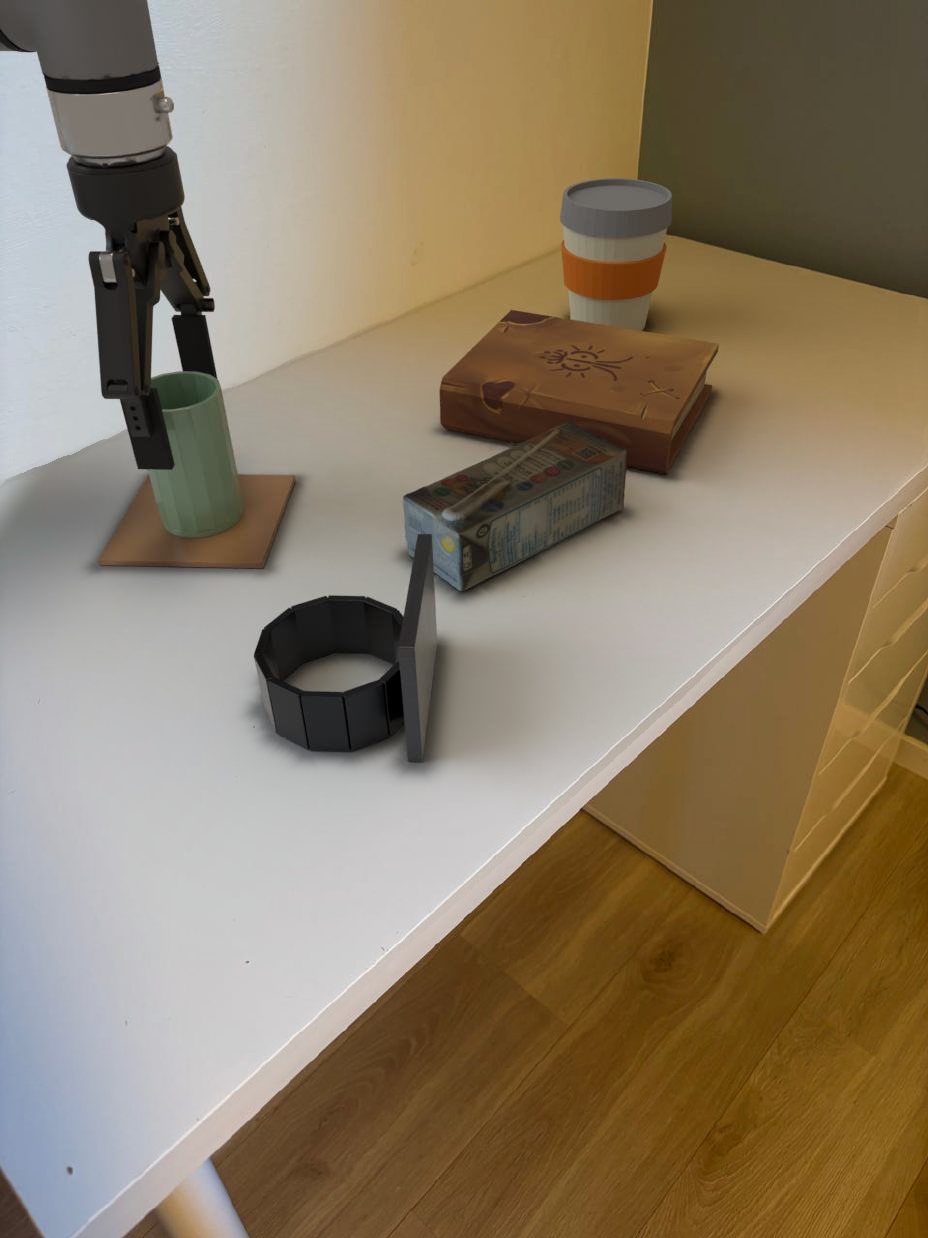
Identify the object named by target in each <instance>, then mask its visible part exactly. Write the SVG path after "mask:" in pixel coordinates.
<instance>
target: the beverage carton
mask: <svg viewBox="0 0 928 1238" xmlns="http://www.w3.org/2000/svg"><path fill="white" fill-rule="evenodd" d="M626 465H627V451H626V449H625V448H623V447H620V446H618V445H615V444H613V443H611V442H609V441H607V440H604V439H603V438H602V437H600V436H599V435H596V434H594V433H592V432H589V431H587V430H584V429H582V428H581V427H579V426H578V425H575V424H573V423H571V422H570V421H568V422H566V423H564V424H562V425H560V426H557V427H555V428H552V429H550V430H548V431H546V432H544V433H542V434H540V435H538V436H535V437H533V438H531V439H529V440H527V441H524V442H522V443H520V444H518V443H517V444H516V445H514V446H512V447H510V448H507V449H505V450H503V451H501V452H499V453H496V454H494V455H492V456H491V457H489V458H486V459H483V460H481V461H478V462H477V463H475V464H472V465H470V466H468V467H466V468H464V469H462V470H459V471H457V472H454V473H452V474H450V475H448V476H445V477H444V478H441V479H440V480H437V481H435V482H433V483H431V484H429V485H425V486H422V487H420V488H418V489H416V490H414V491H411V492H408V493H406V494H405V495H403V496H402V506H403V513H404V516H403V517H404V531H405V540H406V546H407V553H408V555H409V556H410V557H411V558H412V559H414V553H415V547H416V541H417V535H418V534H432V546H433V565H434V574H436V575H437V576H439V577H440V578H442V579H443V580H445V581H446V582H447V583H449V584H450V585H451V586H452V587H453V588H454V589H457V591H459V592H464V591H466V590H468V589H470V588H472V587H474V586H476V585H478V584H480V583H482V582H483V581H485V580H487V579H490V578H492V577H493V576H496V575H498V574H500V573H502V572H504V571H505V570H508V569H510V568H513V567H514V566H517V564H519V563H521V562H523V561H525V560H526V559H528V558H530V557H532V556H534V555H536V554H538V553H540V552H542V551H544V550H546V549H549V548H550V547H551V546H553V545H555V544H557V543H559V542H560V541H563V540H565V539H566V538H568V537H570V536H572V535H574V534H576V533H577V532H579V531H582V530H584V529H585V528H587V527H589V526H591V525H593V524H595V523H597V522H599V521H600V520H602V519H605V518H607V517H609V516H611V515H614V514H615V513H617V512H618V511H620V510H623V509H624V508H625V490H626V489H625V488H626V479H627V478H626V475H627V466H626Z"/></svg>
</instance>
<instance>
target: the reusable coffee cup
mask: <svg viewBox="0 0 928 1238" xmlns="http://www.w3.org/2000/svg"><path fill="white" fill-rule="evenodd" d="M672 220H673V194H672V192H671V190H670V189H668V188H667V187H665V186H664V185H661V184H659V183H655V182H651V181H647V180H643V179H636V178H635V179H634V178H621V177H619V178H618V177H614V178H613V177H611V178H609V177H607V178H595V179H589V180H584V181H579V182H576V183H574V184H572V185H570V186H568V187H566V188H565V189H564V191H563V193H562V200H561V208H560V215H559V222H560V223H561V225H562V229H563V240H562V241H561V244H560V249H561V250H560V251H561V260H562V261H561V262H562V263H561V264H562V273H563V283H564V286H565V287H566V289H567V292H568V293H567V294H568V305H569V317H570V318H569V319H571V320H577V321H583V322H589V323H596V324H602V325H608V326H614V327H620V328H626V329H632V330H639V331H644V329H645V328H646V322H647V319H648V313H649V311H650V306H651V301H652V298H653V297H652V296H653V293H654V291H656V289H657V288H658V286H659V283H660V282H659V281H660V277H661V273H662V269H663V264H664V260H665V256H666V252H667V247H668V246H667V245H666V243H665V240H666V236H667V231H668V228H669V227H670V226H671V224H672Z"/></svg>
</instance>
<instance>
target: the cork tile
mask: <svg viewBox="0 0 928 1238" xmlns="http://www.w3.org/2000/svg"><path fill="white" fill-rule="evenodd" d="M238 478H239V484H240V489H241V494H242V499H243V507H244V513H243V516H242V518H241V519H240V520H239V522H238V523H237V524H235V525H234V526H233V527H231V528H230V529H228V530H226V531H224V532H221V533H219V534H215V535H212V536H207V537H200V538H186V537H180V536H176V535H174V534H172V533H170V532H168V531H167V530H166V529H165V528H164V527H163V525H162V522H161V520H160V516H159V512H158V508H157V504H156V500H155V496H154V492H153V488H152V484H151V480H150V477H149V473H147V476H146V477H145V479H144V481H143V482H142V484H141V486H140V488H139V489H138V491H137V493H136V494H135V495H134V498H133V500H132V501H131V503H130V504H129V506H128V507H127V509H126V511H125V513H124V514H123V516H122V518H121V520H120V521H119V523H118V525H117V526H116V529H114V532H113V533H112V535H111V537H110V538H109V540H108V542H107V544H106V545H105V547H104V549H103V550H102V552H101V554H100V555H99V557H98V559H97V561H98V564H99V565H98V566H123V567H124V566H126V567H127V566H130V567H170V568H171V567H173V568H175V567H176V568H218V569H219V568H222V569H223V568H226V569H230V568H231V569H264V567H265V564H266V562H267V559H268V556H269V554H270V551H271V548H272V545H273V543H274V540H275V538H276V535H277V532H278V529H279V526H280V525H281V521H282V518H283V515H284V512H285V510H286V507H287V504H288V502H289V500H290V497H291V493H292V491H293V488H294V486H295V483H296V475H294V474H242V473H241V474H239V473H238Z"/></svg>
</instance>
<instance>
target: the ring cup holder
mask: <svg viewBox="0 0 928 1238" xmlns="http://www.w3.org/2000/svg"><path fill="white" fill-rule="evenodd" d="M435 585H436V584H435V572H434V565H433V546H432V534H418V535H417V541H416V547H415V553H414V558H412V565H411V571H410V576H409V583H408V588H407V593H406V594H407V595H406V600H405V605H404V612H403V614H402V612H400V610H399V609H398V608H396V607H394V606H392V605H389V604H387V603H384V602H382V601H380V600H377V599H374V598H372V597H370V596H366V595H337V594H335V595H331V594H330V595H328V596H327V595H324V596H320V597H316V598H313V599H311V600H307V601H304V602H300V603H298V604H293V605H291V606H290V607H287V609H285V610H284V611H283V612H281V613H280V614H279V615H278V616H276V617H275V618H274V619H273V620H272V621H270V622H269V623H267V624H266V625H265V626H264V627H263V628H262V629H261V633H260V635H259V638H258V641H257V643H256V647H255V650H254V653H253V658H254V663H255V669H256V673H257V679H258V683H259V688H260V694H261V697H262V698H261V699H262V703H263V707H264V711H265V713H266V715H267V717H268V719H269V721H270V723H271V725H272V727H273V729H274V731H275V733H276V734H277V735H278V736H280V737H282V738H284V739H286V740H287V741H290V742H292V743H294V744H296V745H297V746H300V747H301V748H303V749H305V750H309V751H310V752H311V751H315V752H339V753H340V752H346V753H350V751H351V752H354V751H357V750H360V749H362V748H365V747H368V746H370V745H373V744H376V743H378V742H382V741H384V740H387V739H389V737H392V736H393V735H394V734H395V733H396V732H397V731H398V730H399V729H400V728H401V727H402V726H403V725H404V734H405V735H404V736H405V746H406V759H407V760H406V761H407V762H412V763H413V762H414V763H417V762H419V763H422V762H423V760H424V754H425V753H424V752H425V745H426V737H427V729H428V720H429V713H430V705H431V704H430V703H431V697H432V689H433V682H434V673H435V666H436V659H437V658H436V657H437V652H438V651H437V650H438V630H437V629H438V628H437V612H436V611H437V608H436V607H437V606H436V590H435V589H436V587H435ZM335 653H349V654H350V653H351V654H352V653H353V654H369V655H372V656H375V657H376V658H379V659H381V660H384V661H386V662H388V663H391V664H393V665H392V666H391V668H389V669H388V670H387V671H386V672H385V673H384V674H383V675H382V676H381V677H380V678H379V679H376V680H374V681H371V682H367V683H365V684H361V685H359V686H356V687H353V688H350V689H348V690H344V691H326V690H325V691H320V690H303V689H300V688H298V687H296V686H294V685H292V684H290V683H288V682H286V681H285V679H287V677H288V676H290V675H291V674H292V673H293V672H294V671H295V670H297V669H298V668H299V667H300V666H301V665H303V664H304V663H307V662H310V661H314V660H316V659H319V658H323V657H327V656H329V655H331V654H335Z"/></svg>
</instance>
